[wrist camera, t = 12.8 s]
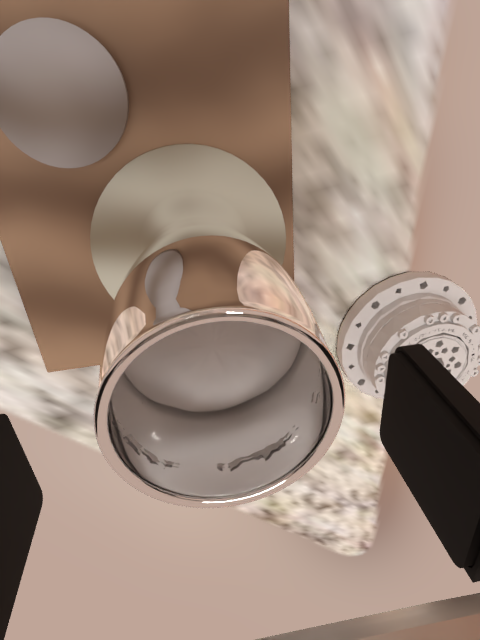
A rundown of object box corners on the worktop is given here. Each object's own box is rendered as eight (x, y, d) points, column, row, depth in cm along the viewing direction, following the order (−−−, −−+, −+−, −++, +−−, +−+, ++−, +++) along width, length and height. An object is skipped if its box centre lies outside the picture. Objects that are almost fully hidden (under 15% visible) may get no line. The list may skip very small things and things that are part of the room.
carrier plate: (-80, -22, 19) (-112, -37, 16) (281, -44, 20) (294, -60, 18) (52, 361, 28) (42, 383, 26) (290, 327, 30) (299, 345, 27)
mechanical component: (327, 393, 33) (446, 383, 34) (348, 432, 29) (481, 420, 31) (344, 272, 28) (481, 266, 30) (372, 300, 25) (528, 293, 26)
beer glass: (117, 191, 22) (43, 330, 9) (248, 172, 23) (355, 277, 10) (147, 309, 26) (123, 534, 13) (260, 290, 26) (352, 487, 13)
